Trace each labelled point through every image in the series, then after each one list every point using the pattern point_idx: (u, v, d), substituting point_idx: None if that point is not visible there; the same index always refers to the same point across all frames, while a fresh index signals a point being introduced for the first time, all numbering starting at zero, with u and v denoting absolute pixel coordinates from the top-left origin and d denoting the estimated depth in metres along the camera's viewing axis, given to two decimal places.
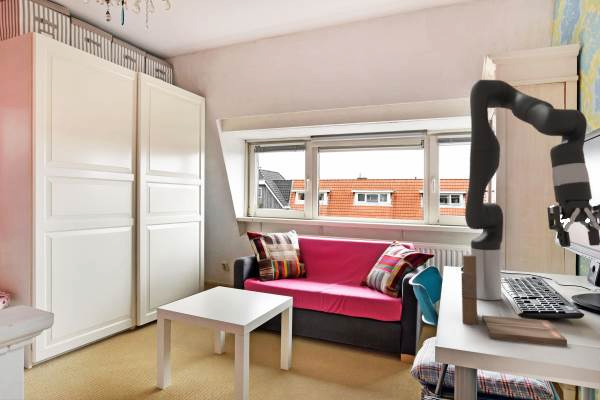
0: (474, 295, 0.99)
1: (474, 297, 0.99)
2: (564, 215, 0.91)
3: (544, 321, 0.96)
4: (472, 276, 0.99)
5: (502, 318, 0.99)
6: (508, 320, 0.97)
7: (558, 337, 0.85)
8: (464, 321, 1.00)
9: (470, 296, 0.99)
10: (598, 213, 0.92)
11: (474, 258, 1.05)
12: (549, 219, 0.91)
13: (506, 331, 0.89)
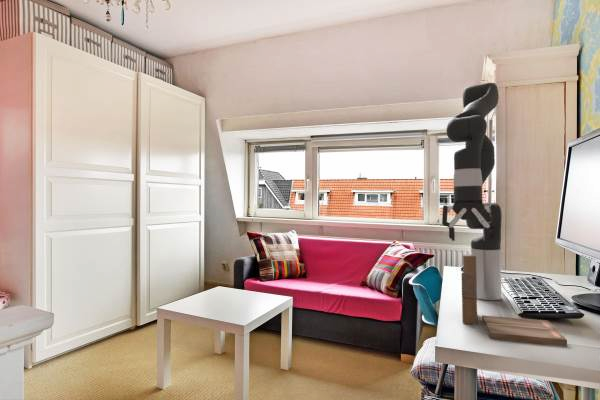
0: (474, 295, 0.99)
1: (474, 297, 0.99)
2: (457, 213, 1.05)
3: (544, 321, 0.96)
4: (472, 276, 0.99)
5: (502, 318, 0.99)
6: (508, 320, 0.97)
7: (558, 337, 0.85)
8: (464, 321, 1.00)
9: (470, 296, 0.99)
10: (490, 212, 1.01)
11: (474, 258, 1.05)
12: (442, 216, 1.07)
13: (506, 331, 0.89)
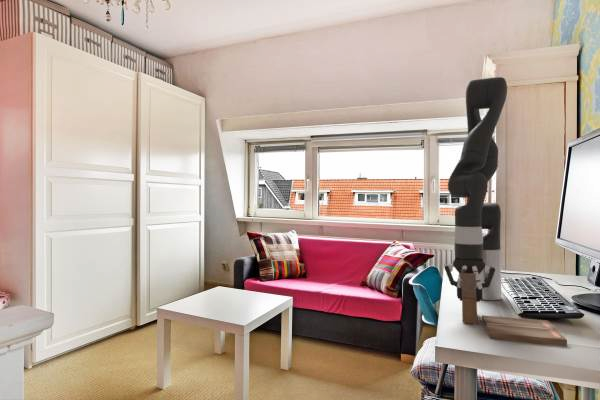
0: (474, 295, 0.99)
1: (474, 297, 0.99)
2: None
3: (544, 321, 0.96)
4: (472, 276, 0.99)
5: (502, 318, 0.99)
6: (508, 320, 0.97)
7: (558, 337, 0.85)
8: (464, 321, 1.00)
9: (470, 296, 0.99)
10: (488, 274, 1.01)
11: None
12: None
13: (506, 331, 0.89)
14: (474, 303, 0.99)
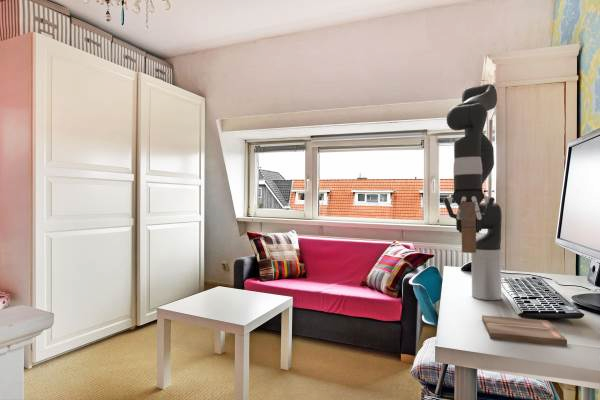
0: (473, 223, 0.99)
1: (473, 225, 0.99)
2: None
3: (544, 321, 0.96)
4: (471, 204, 0.99)
5: (502, 318, 0.99)
6: (508, 320, 0.97)
7: (558, 337, 0.85)
8: (463, 250, 1.00)
9: (469, 224, 0.99)
10: (487, 204, 1.01)
11: None
12: (447, 209, 1.07)
13: (506, 331, 0.89)
14: (473, 231, 0.99)
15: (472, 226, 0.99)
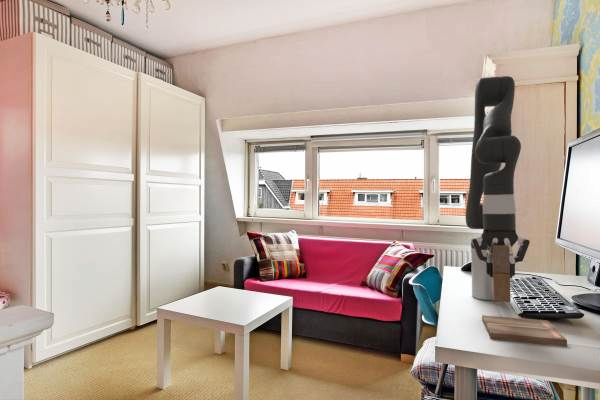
0: (507, 269, 0.89)
1: (507, 271, 0.89)
2: None
3: (544, 321, 0.96)
4: (505, 248, 0.89)
5: (502, 318, 0.99)
6: (508, 320, 0.97)
7: (558, 337, 0.85)
8: (496, 298, 0.90)
9: (503, 270, 0.89)
10: (522, 247, 0.92)
11: None
12: (475, 250, 0.97)
13: (506, 331, 0.89)
14: (508, 278, 0.89)
15: (506, 272, 0.89)
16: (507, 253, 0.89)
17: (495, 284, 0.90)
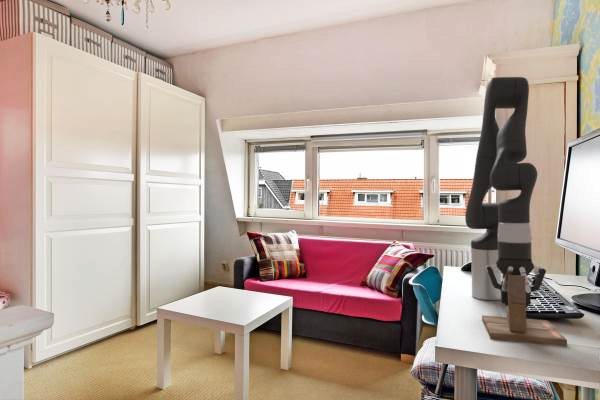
0: (523, 300, 0.88)
1: (523, 302, 0.88)
2: None
3: (544, 321, 0.96)
4: (521, 278, 0.88)
5: (502, 318, 0.99)
6: None
7: (558, 337, 0.85)
8: (511, 329, 0.89)
9: (519, 301, 0.88)
10: (537, 276, 0.91)
11: None
12: (490, 278, 0.96)
13: (506, 331, 0.89)
14: (523, 309, 0.88)
15: (522, 303, 0.88)
16: (523, 283, 0.88)
17: (510, 314, 0.89)
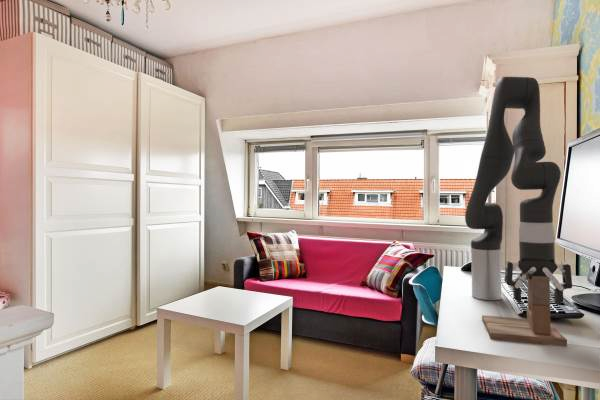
0: (548, 301, 0.86)
1: (548, 304, 0.86)
2: (523, 271, 0.93)
3: None
4: (545, 280, 0.86)
5: (502, 318, 0.99)
6: (508, 320, 0.97)
7: (558, 337, 0.85)
8: (535, 331, 0.87)
9: (543, 302, 0.86)
10: (565, 273, 0.89)
11: None
12: (505, 273, 0.95)
13: (506, 331, 0.89)
14: (548, 311, 0.86)
15: (546, 304, 0.86)
16: (547, 285, 0.86)
17: (534, 316, 0.87)
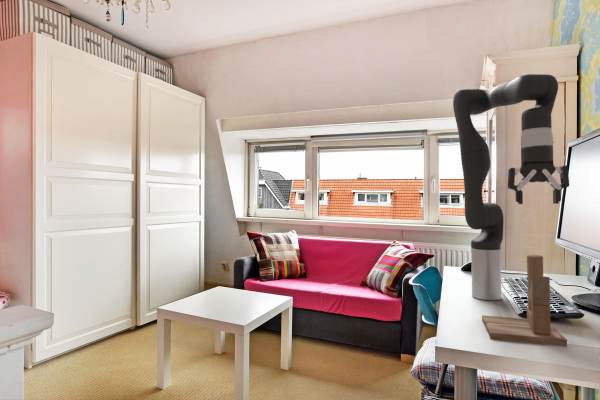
0: (548, 301, 0.86)
1: (548, 304, 0.86)
2: None
3: None
4: (545, 280, 0.86)
5: (502, 318, 0.99)
6: (508, 320, 0.97)
7: (558, 337, 0.85)
8: (535, 331, 0.87)
9: (543, 302, 0.86)
10: (562, 173, 0.97)
11: (541, 259, 0.93)
12: (508, 179, 1.03)
13: (506, 331, 0.89)
14: (548, 311, 0.86)
15: (546, 304, 0.86)
16: (547, 285, 0.86)
17: (534, 316, 0.87)
